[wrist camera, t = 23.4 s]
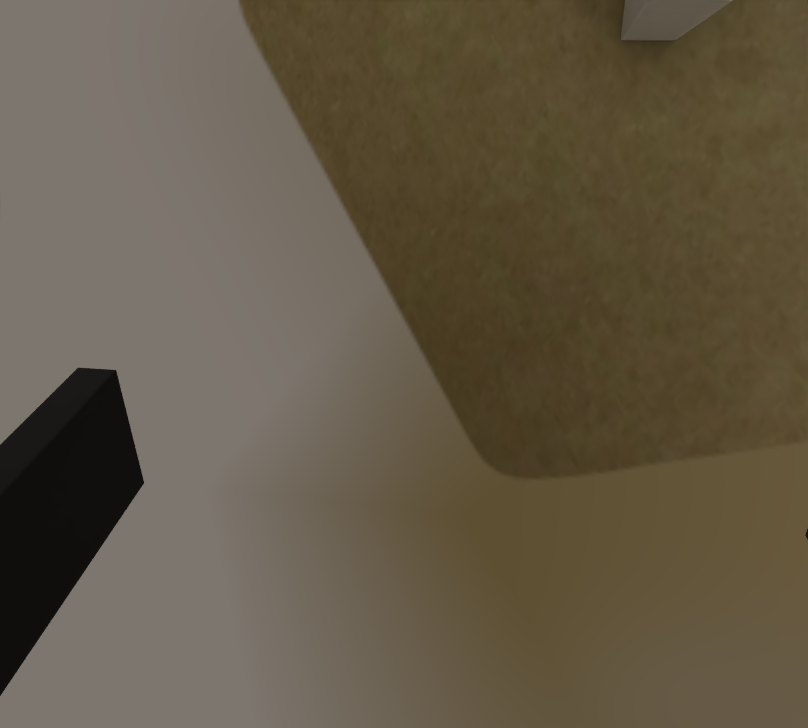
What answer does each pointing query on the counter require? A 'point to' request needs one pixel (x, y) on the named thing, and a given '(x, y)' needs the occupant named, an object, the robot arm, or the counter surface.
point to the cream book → (665, 17)
